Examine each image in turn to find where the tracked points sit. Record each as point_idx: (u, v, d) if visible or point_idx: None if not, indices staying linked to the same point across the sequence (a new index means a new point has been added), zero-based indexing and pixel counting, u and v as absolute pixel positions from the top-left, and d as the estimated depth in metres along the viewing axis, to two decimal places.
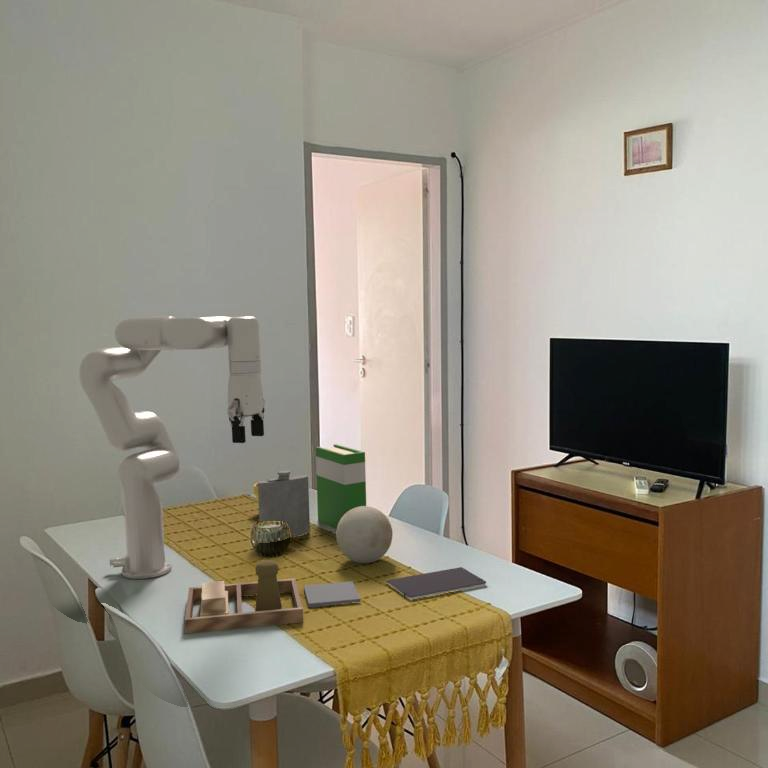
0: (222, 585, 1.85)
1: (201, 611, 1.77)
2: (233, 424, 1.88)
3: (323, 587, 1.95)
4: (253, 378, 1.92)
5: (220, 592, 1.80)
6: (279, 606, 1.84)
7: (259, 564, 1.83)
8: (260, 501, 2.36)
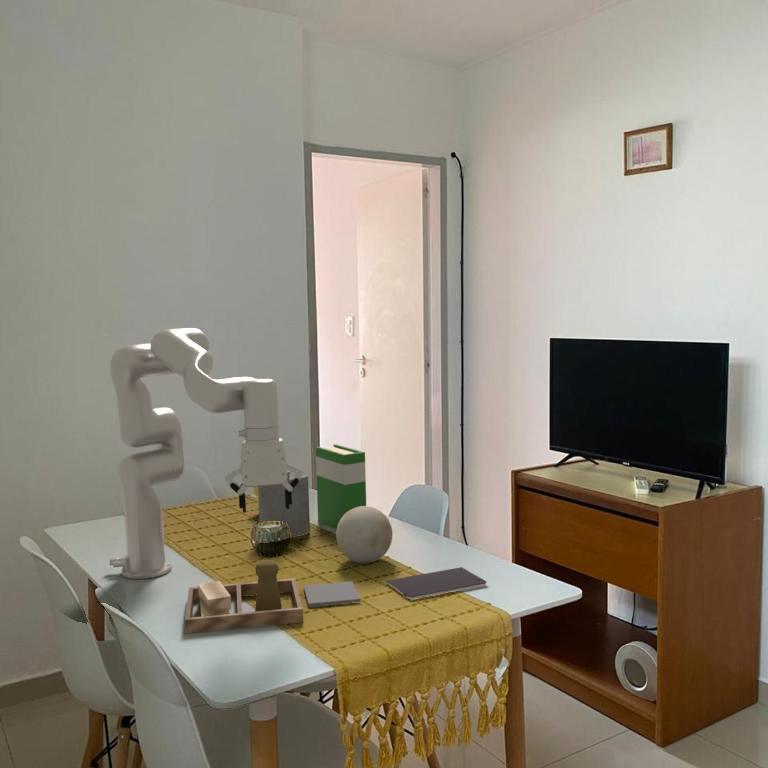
0: (220, 585, 1.85)
1: (202, 611, 1.77)
2: None
3: (323, 587, 1.95)
4: None
5: (222, 591, 1.81)
6: (279, 606, 1.84)
7: (259, 564, 1.83)
8: (260, 501, 2.36)
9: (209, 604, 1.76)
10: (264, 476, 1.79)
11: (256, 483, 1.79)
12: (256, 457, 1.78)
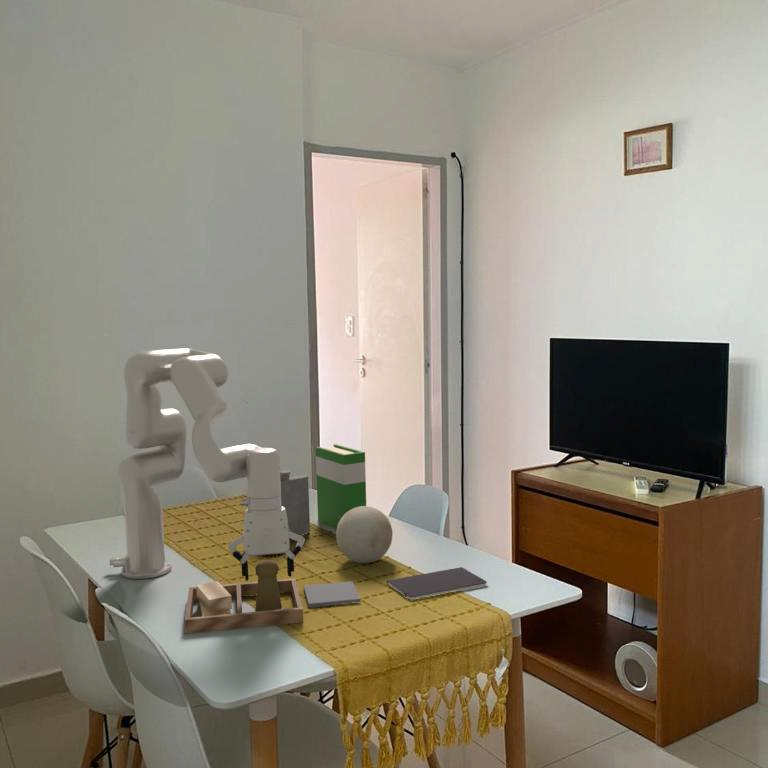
0: (219, 585, 1.85)
1: (203, 611, 1.77)
2: None
3: (323, 587, 1.95)
4: None
5: (222, 591, 1.81)
6: (279, 606, 1.84)
7: (259, 564, 1.83)
8: None
9: (210, 604, 1.76)
10: (266, 545, 1.80)
11: (259, 552, 1.80)
12: (259, 527, 1.80)
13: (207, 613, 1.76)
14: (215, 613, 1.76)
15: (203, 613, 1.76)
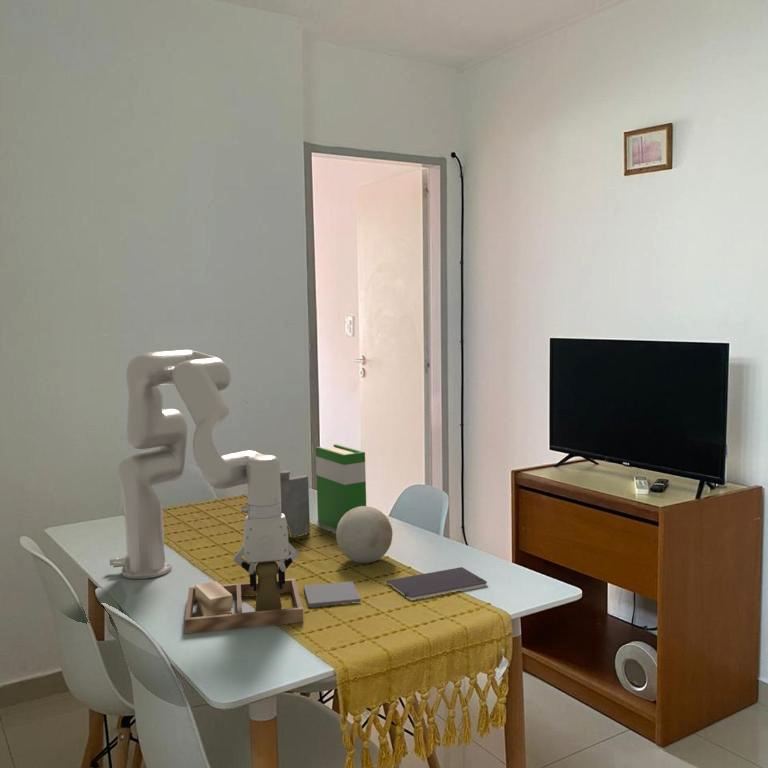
0: (218, 585, 1.85)
1: (204, 611, 1.77)
2: None
3: (323, 587, 1.95)
4: None
5: (222, 591, 1.81)
6: (279, 606, 1.84)
7: (259, 564, 1.83)
8: None
9: (211, 604, 1.76)
10: (266, 552, 1.81)
11: (258, 559, 1.80)
12: (258, 534, 1.80)
13: (208, 613, 1.76)
14: (216, 613, 1.76)
15: (204, 613, 1.76)
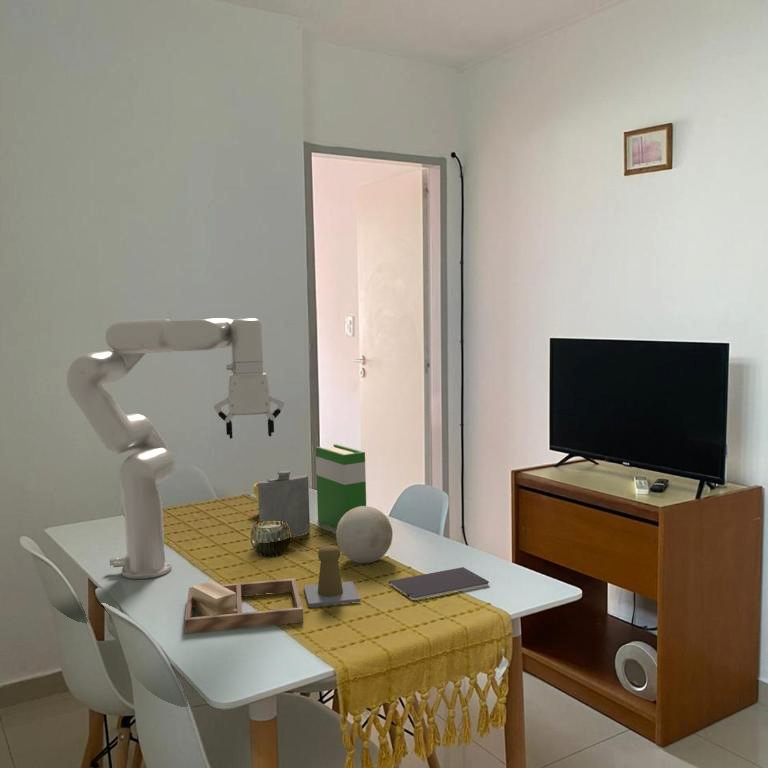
0: (216, 584, 1.85)
1: (208, 612, 1.77)
2: (275, 417, 2.03)
3: None
4: None
5: (224, 590, 1.82)
6: (341, 590, 1.90)
7: (322, 549, 1.89)
8: (260, 501, 2.36)
9: (217, 603, 1.77)
10: (249, 405, 1.99)
11: (242, 412, 1.99)
12: (242, 388, 1.98)
13: (213, 613, 1.76)
14: (222, 612, 1.76)
15: (209, 613, 1.76)
